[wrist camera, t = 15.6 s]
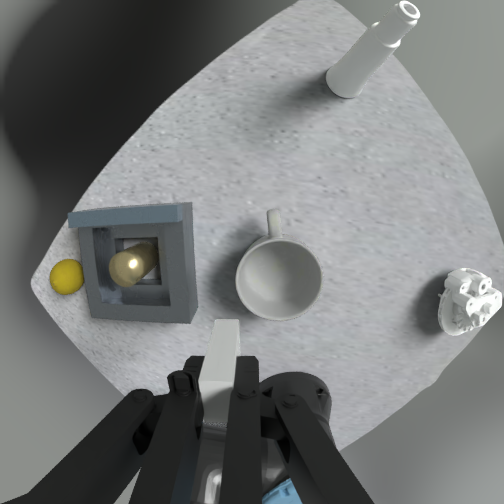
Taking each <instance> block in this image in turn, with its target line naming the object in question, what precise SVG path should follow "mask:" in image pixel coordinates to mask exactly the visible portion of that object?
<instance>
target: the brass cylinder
mask: <svg viewBox="0 0 504 504" xmlns="http://www.w3.org/2000/svg"><path fill="white" fill-rule="evenodd" d="M158 261H159V254H158V251H157V249H156V248H155V246H154V245H152V244H151V243H149V242H140V243H138V244H136V245H134V246H132V247H129V248H127V249H125V250H123V251H121V252H119V253H117V254H115V255H114V256H113V257H112V258H111V260H110V263H109V272H110V275H111V277H112V279H113V280H114V282H115V283H117V284H118V285H120V286H122V287H131V286H133V285H134V284H136V283H137V282H138V281H139V280H140V279H142V278H143V277H144V276H145V275H147V274H148V273H149V272H150V271H151V270H153V269H154V268H155V267H156V266H157V264H158Z"/></svg>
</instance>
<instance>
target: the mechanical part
mask: <svg viewBox="0 0 504 504" xmlns="http://www.w3.org/2000/svg"><path fill="white" fill-rule="evenodd" d="M447 276H448V278H447V279H446V280H445V288H446V289H445V291H444V292H443V294H442V295H441V294H438V296H439V297H440V298H441V299H440V304H439V309H438V321H439V325H440V327H441V328H442V329H443V330H444V331H445V332H446V333H447V334H449V335H454V336H456V335H460V334H462V333H464V332H467V331H468V329H469V330H472V329H473V327H474V328H476V327H479V326H483V325H484V324H485V323H486V322H487V321H488V320H489V319H490V318H491V317H492V316H493V315H494V314H495V313H496V312H497V311H498V309H500V307H501V306H502V293H501V292H500V291H498V290H496V289H494V288H492V287H490V286H491V283H492V280H491V278H489V277H487V276H485V275H484V274H482V273H480V272H478V271H476V270H473V269H471V268H460V269H457V270H454V271H452V272H450V273H449V274H448V275H447Z"/></svg>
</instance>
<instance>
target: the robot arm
mask: <svg viewBox="0 0 504 504" xmlns="http://www.w3.org/2000/svg"><path fill="white" fill-rule="evenodd" d="M167 379H168V384H169V389H170V392H169V393H168V394H165V395H158V396H153V393H152V392H151V391H149V390H147V389H136V390H133V391H131V392H130V393H128V394H127V395H126V396H125V397H124V399H123V400H122V401H121V402H120V403H119V404H118V405H117V406H116V407H115V408H114V409H113V410H112V411H111V412H110V413H109V414H108V415H107V416H106V417H105V418H104V419H103V420H102V421H101V422H100V423H99V424H98V425H97V426H96V427H95V428H94V429H93V430H92V431H91V432H90V433H89V434H88V435H87V436H86V437H85V438H84V439H83V440H82V441H81V442H79V444H78V445H77V446H76V447H75V448H73V450H71V451H70V453H68V455H66V456H65V457H64V458H63V459H62V460H61V461H60V462H59V463H58V464H57V465H56V466H55V467H54V468H53V469H52V470H51V471H50V472H49V473H48V474H47V475H46V476H45V477H44V478H43V479H42V480H41V481H40V482H39V483H38V484H37V485H36V486H35V487H34V488H33V489H31V491H29V493H27V494H25V495H22V496H20V497H17V498H15V499H12V500H10V501H7V502H4V503H2V504H114V503H115V501H116V500H117V499H118V497H119V496H120V495H121V493H122V492H123V490H124V489H125V488H126V487H127V485H128V484H129V483H130V481H131V480H132V479H133V477H134V476H135V475H136V473H137V472H138V471H139V469H140V468H141V470H140V472H139V475H138V478H137V481H136V483H135V486H134V489H133V492H132V495H131V498H130V501H129V504H374V503H373V501H372V500H371V498H370V497H369V495H368V494H367V492H366V491H365V489H364V488H363V487H362V485H361V484H360V482H359V481H358V479H357V478H356V477H355V475H354V474H353V472H352V471H351V469H350V468H349V466H348V465H347V463H346V462H345V460H344V459H343V458H342V456H341V455H340V453H339V452H338V450H337V449H336V445H335V442H334V439H333V436H332V433H331V430H330V426H329V419H330V413H331V406H332V401H331V396H330V393H329V390H328V388H327V386H326V384H325V383H324V382H323V381H322V380H321V379H319V378H318V377H316V376H314V375H311V374H308V373H303V372H287V373H282V374H278V375H275V376H272V377H270V378H268V379H266V380H264V381H263V382H261V383H260V384H259V362H258V360H257V358H256V357H255V356H240V335H239V319H215V323H214V326H213V330H212V333H211V337H210V340H209V344H208V348H207V351H206V355H205V356H191V357H190V358H188V359H187V360H186V362H185V365H184V368H183V370H178V371H175V372H172V373H170V374H169V375H168V377H167ZM203 417H204V420H205V422H217V423H227V428H226V427H219V426H214V425H208V424H203Z"/></svg>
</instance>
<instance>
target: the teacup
mask: <svg viewBox="0 0 504 504" xmlns="http://www.w3.org/2000/svg"><path fill="white" fill-rule="evenodd" d="M267 222H268V235H267V236H264V237H262V238H260V239H258V240H257V241H255V242H254V243H253V244H252V245H251V246H250V247H249V248H248V249H247V251H246V252H245V254H244V256H243V257H242V259H241V260H240V262H239V265H238V267H237V271H236V276H235V285H236V290H237V293H238V296H239V298H240V300H241V301H242V303H243V304H244V306H245V307H246V308H247V309H248V310H249V311H251V312H252V313H253V314H255V315H257V316H259V317H261V318H264V319H267V320H271V321H287V320H291V319H295V318H297V317H299V316H301V315H303V314H305V313H306V312H307V311H309V310H310V309H311V308H312V307H313V306H314V304H315V303H316V302H317V300H318V298H319V296H320V294H321V291H322V288H323V282H324V276H323V270H322V266H321V264H320V261H319V259H318V258H317V256H316V255H315V254H314V253H313V252H312V250H310V249H309V247H308V246H307V245H306V244H305V243H303V242H302V241H301V240H299V239H297V238H296V237H293V236H290V235H286V234H282V228H281V218H280V212H279V210H277V209H271V210H268V211H267Z"/></svg>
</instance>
